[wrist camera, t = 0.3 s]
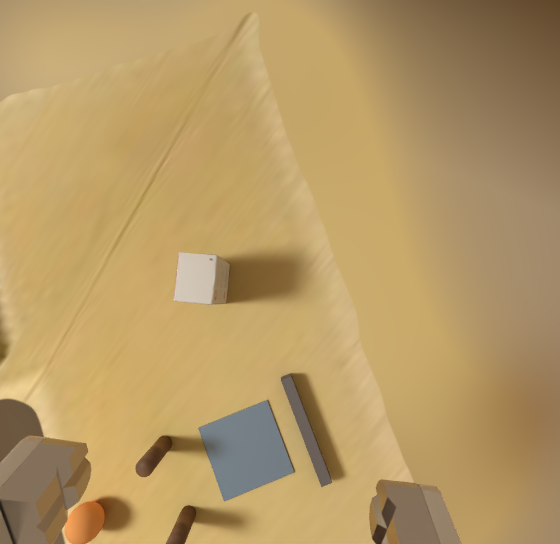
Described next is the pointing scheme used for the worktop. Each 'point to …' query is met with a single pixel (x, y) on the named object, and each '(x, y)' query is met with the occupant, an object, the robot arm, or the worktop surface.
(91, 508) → the ball
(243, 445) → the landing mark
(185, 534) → the post
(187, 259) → the small box
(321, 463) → the wall
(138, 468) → the post
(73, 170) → the worktop surface
